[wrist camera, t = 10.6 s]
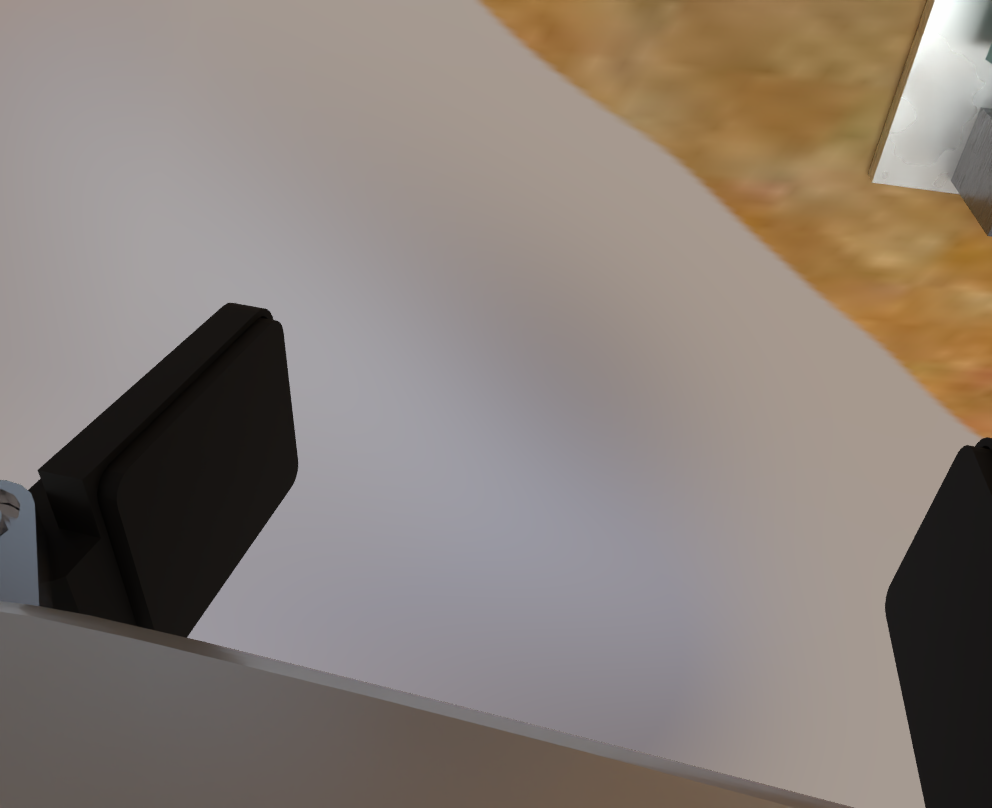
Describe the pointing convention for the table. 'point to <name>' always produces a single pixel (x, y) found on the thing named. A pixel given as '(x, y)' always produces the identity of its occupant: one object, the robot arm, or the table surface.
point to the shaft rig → (944, 109)
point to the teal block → (989, 55)
